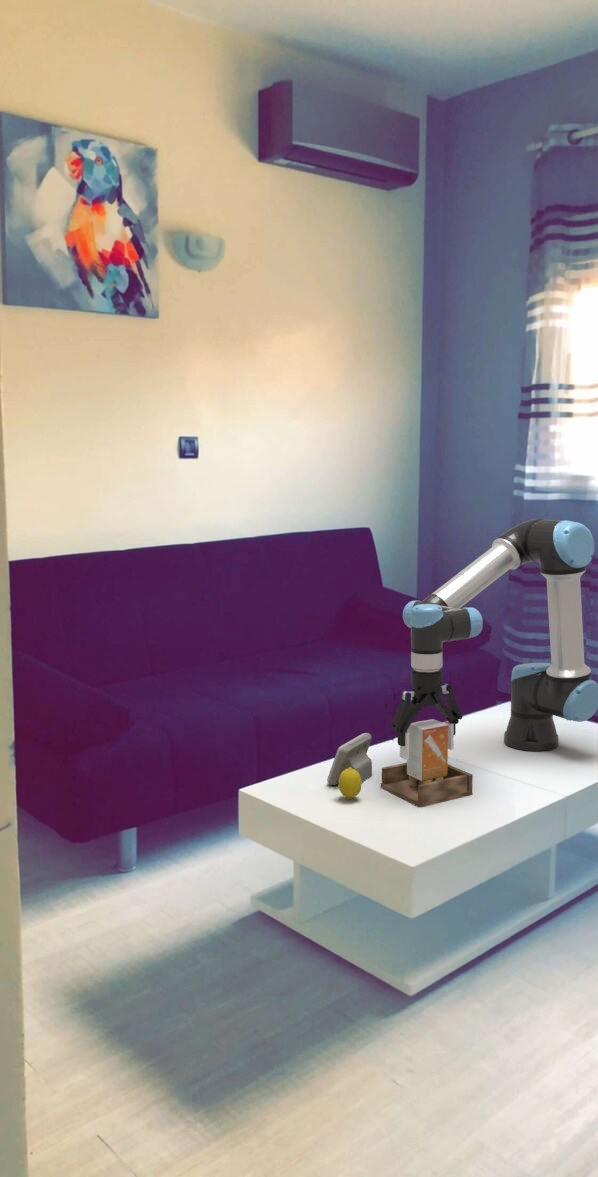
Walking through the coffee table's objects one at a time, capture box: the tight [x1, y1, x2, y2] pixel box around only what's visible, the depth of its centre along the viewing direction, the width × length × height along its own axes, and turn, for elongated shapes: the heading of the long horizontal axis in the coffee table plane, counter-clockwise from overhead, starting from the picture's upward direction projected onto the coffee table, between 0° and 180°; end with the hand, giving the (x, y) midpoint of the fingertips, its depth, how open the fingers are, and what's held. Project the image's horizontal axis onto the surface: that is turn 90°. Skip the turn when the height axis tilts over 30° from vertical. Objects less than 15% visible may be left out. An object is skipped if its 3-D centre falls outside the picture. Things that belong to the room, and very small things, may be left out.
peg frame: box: [379, 762, 474, 808], centre depth 238 cm, size 16×16×5 cm
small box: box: [406, 718, 449, 781], centre depth 237 cm, size 8×6×13 cm
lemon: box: [338, 767, 363, 800], centre depth 232 cm, size 6×6×8 cm
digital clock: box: [326, 732, 373, 786], centre depth 247 cm, size 16×9×11 cm, turn 138°
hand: (427, 753), depth 237 cm, fingers open, 13 cm apart
